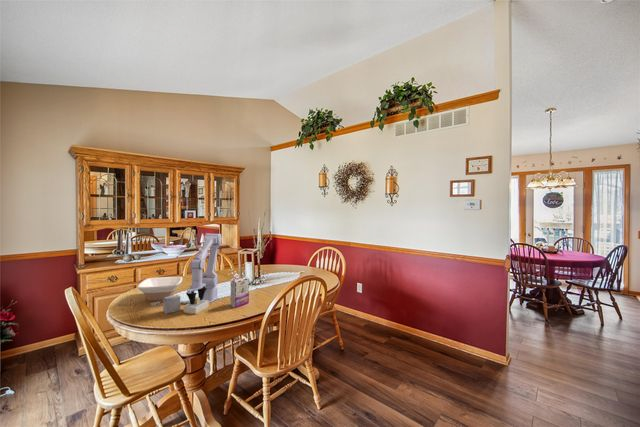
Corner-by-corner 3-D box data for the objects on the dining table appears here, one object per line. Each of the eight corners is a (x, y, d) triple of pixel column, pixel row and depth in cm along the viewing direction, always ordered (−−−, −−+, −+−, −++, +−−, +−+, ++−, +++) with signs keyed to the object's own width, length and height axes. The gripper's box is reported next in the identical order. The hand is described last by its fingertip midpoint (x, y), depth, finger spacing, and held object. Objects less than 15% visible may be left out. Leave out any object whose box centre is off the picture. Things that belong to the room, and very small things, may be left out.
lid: (197, 301, 169) (197, 295, 169) (206, 302, 168) (206, 296, 168) (186, 307, 159) (186, 300, 159) (195, 308, 158) (195, 301, 158)
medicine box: (177, 308, 165) (177, 294, 165) (180, 310, 162) (180, 296, 162) (163, 312, 159) (163, 297, 159) (166, 314, 156) (166, 299, 156)
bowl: (177, 302, 175) (177, 285, 175) (133, 305, 168) (133, 287, 168) (184, 290, 198) (184, 276, 198) (146, 292, 191) (146, 277, 191)
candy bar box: (243, 301, 180) (244, 276, 180) (248, 303, 177) (249, 278, 177) (229, 306, 171) (230, 280, 170) (235, 308, 168) (236, 281, 167)
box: (197, 305, 170) (197, 299, 170) (208, 307, 169) (208, 300, 169) (183, 312, 159) (183, 306, 159) (195, 314, 157) (195, 307, 157)
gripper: (199, 275, 171) (198, 297, 171) (182, 281, 157) (182, 305, 157) (209, 276, 170) (208, 298, 170) (193, 283, 155) (192, 306, 156)
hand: (196, 301), depth 163 cm, fingers open, 7 cm apart
